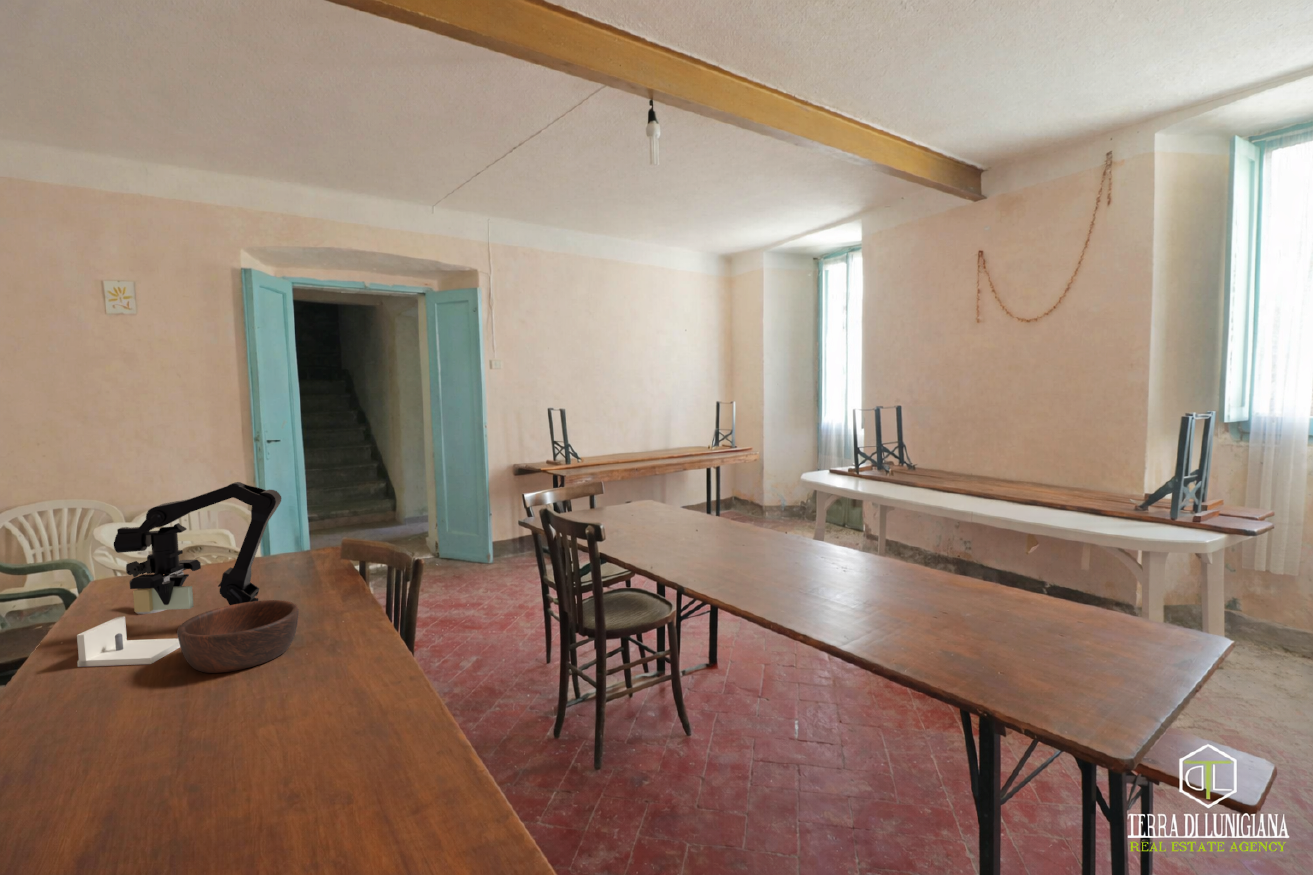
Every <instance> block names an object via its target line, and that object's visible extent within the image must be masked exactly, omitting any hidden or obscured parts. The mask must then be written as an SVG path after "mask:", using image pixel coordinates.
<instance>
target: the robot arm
mask: <svg viewBox="0 0 1313 875" xmlns="http://www.w3.org/2000/svg"><path fill="white" fill-rule="evenodd" d="M230 499H236V500H238V501H240V502H242V503H243V504H247V505H249V506H251V510H250V513H251V514H250V517H251V519H250V522H249V526H248V528H247V531H246V534H245V537H244V539H243V542H242V545H241V547H240V550H239V552H238V555H237V558H236V560H235V563H234V565H233V567H228V569H227V570H225V571H224V572H222V576H221V581H220V583H219V584H218V585H217V587H218V588H219V594H220V595H221V597H223V598H224V599H225V600H226V601H227V603H228V606H229V605H234V604H239V603H245V602H253V601H259V598H258V597H256V596H258V594H259V591H260V588H259V587H258V586H257V585H255V584H253V583H252V581H251V579H252V567H253V566H252V565H253V564H254V560H255V558H256V554H257V552H258V550H259V546H260V544H261V542H262V538H263V535H264V533H265V531H266V528H267V524H268V523H269V521H270V520H271V518H272V517H273V515H274V514H275V513H276V511H277V509H278V507H279V506H280V504H281V502H282V495H281V494H280V492H278V491H277V490H275V489H263V488H262V487H257V486H252V485H248V484H245V483H243V482H241V481H237V482H233V483H230V484H228V485H226V486H224V487H220V488H217V489H215V490H211V491H209V492H206V493H203V494H200V495H196V496H195V497H190V498H189V499H184V500H183V499H181V500H175V501H171V502H170V501H169V502H165V503H162V504H159V505H156V506H154V507H151V508H149V509H148V510H147V512H146V515H145V520H144V521H143V522H142V523H141V524H140V525H139V526H137V527H135V526H134V527H127V526H125V527H120V528H117V533H116V535H115V537H114V541H113V548H114V551H115V552H116V553H119V554H121V553H123V554H124V553H132V552H133V553H134V552H135V553H136V552H145V551H146V550H147V549H148V548H150V547H151V553H150V554H148V555H147V557H146V560H144V561H143V562H139V561H137V560H135V561H131V562H130V563H127V564H125V571H126V574H127V575H129V576H133V577H132V579H130V580H129V590H137V589H150V588H154V589H155V591H156V592H157V593H158V595H159V597H160V599H161V600H162V602H163V604H164V605H168V604H169V602H170V599H171V594H172V590H173V587H180V586H183V585H184V584H185V581H186V580H187V578H188V577H189V575H190V574H185V572H184V571H186V570H190V571H192V572H196V571H198V570H201V569H202V564H201V561H199V560H198V559H180V555H182V554H184V553H183V552H184V551H183V549H179V537H178V534H180V533H183V532H185V531H187V528H186V527H185V526H183V525H182V524H181V523H179V522H178V523H176V524H174V525H173V526H167V525H169V524H171V523H173V522H176V521H177V520H179V519H181V518H183V517H185V516H187V515H188V514H190V513H193V512H196V511H199V510H200V509H203V508H207V507H209V506H212V505H216V504H219V503H221V502H224V501H226V500H230ZM156 528H159V529H158V530H154V529H156Z"/></svg>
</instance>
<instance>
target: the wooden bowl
mask: <svg viewBox="0 0 1313 875" xmlns="http://www.w3.org/2000/svg"><path fill="white" fill-rule="evenodd" d="M299 614H300V613H299V606H298V604H296V603H294V602H291V601H287V600H282V599H280V600H277V599H270V600H269V599H266V600H265V599H264V600H263V599H262V600H258V601H253V602H245V603H239V604H234V605H229V604H228V605H225V606H221V607H218V608H214V609H210V610H208V611H205V612H202V613H200V614H198V615H194V616H192V617H190V618H189V619H186V620H185V621H184V622H182V623H181V624H180V625H179V626H178V628H177V632H176V635H177V638H178V640H179V644H180V650H181V653H182V655H183V657H184V658H185V661H186V662H187V663H188V664H189V666H191V667H192V668H193V669H195V670H196V671H199V672H201V673H207V674H219V673H220V674H221V673H230V672H237V671H241V670H245V669H249V668H253V667H256V666H259V665H262V664H265V663H267V662H270V661H272V660H274V659H276V658H278V657H279V656H281V655H282V654H284V653H285V652H286V651H287V650H288V649H289V648H290V646H291V644H292V643H293V641H294V639H295V636H296V634H297V628H298V621H299Z"/></svg>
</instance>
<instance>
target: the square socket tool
mask: <svg viewBox="0 0 1313 875" xmlns="http://www.w3.org/2000/svg"><path fill="white" fill-rule="evenodd" d="M132 592H133V594H132V595H133V606H134V607H133V608H134V609H133V610H134V612H135V613H136V612H150V611H152V610H164V611H166V610H189V609H192V608H194V594H193V586H192V585H190V586H189V585H186V586H185V585H184V586H183V585H182V586H180V587H173V590H172V594H171V599H170V602H169V604H168V605H164V604H163V602H162V600H161V599H160V597H159V595H158V593H157V592H156V591H155V589H154V588H150V589H133V591H132Z"/></svg>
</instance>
